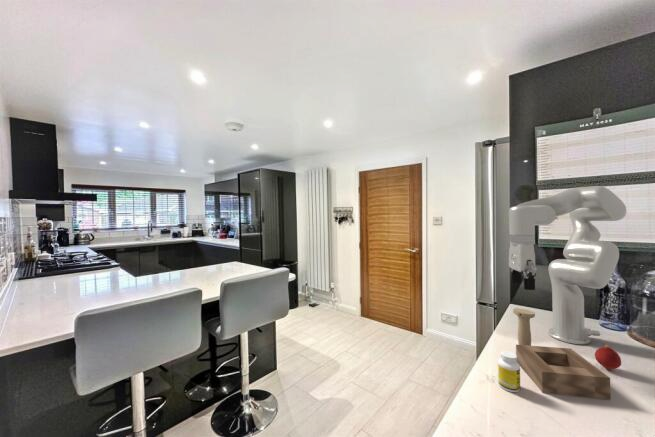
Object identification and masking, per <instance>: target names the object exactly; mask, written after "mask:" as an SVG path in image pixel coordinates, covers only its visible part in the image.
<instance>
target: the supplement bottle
mask: <svg viewBox="0 0 655 437" xmlns="http://www.w3.org/2000/svg"><path fill="white" fill-rule="evenodd" d="M497 368H498V370H497V376H498V377H497V379H498V380H497V381H498V386H499V387H500V388H502V389H503V390H505V391H507V392H511V393H519V392H520V391H521V367H520V365H519V364H518V363H517V356H516V353H514V352H512V351H508V350H503V351H500V358H499V359H498V360H497Z"/></svg>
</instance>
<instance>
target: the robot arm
mask: <svg viewBox="0 0 655 437" xmlns="http://www.w3.org/2000/svg"><path fill="white" fill-rule="evenodd" d="M567 214H569V218H570V221H571V225H572V233H571V235H570V237H569V238H568V240H567V242H566V244H565V246H564V248H563V252H562V255H563V256H564V258H557V259H554V260H552V261H551V262H550V263H549V265H548V267H547V268H548V275H549V278H550V283H551V295H552V299H551V301H552V304H551V305H552V306H551V307H552V328H549V329H548V330H547V332H548V335H549V336H550V337H551V338H554V339H555V340H558V341H561V342H564V343H568V344H573V345H588V344H591V338H590V336H595V337H597V336H598V337H599V336H601V333H600V331H599V330H593V329H592V330H591V328H586V327H585V297H584V293H583V291H582V290H581V288H580V287H585V288H590V289H597V290H598V289H599V290H600V289H603V288H605V287H606V286H607V284H608V283H609V282H610V279H611V277H612V275H613V274H614V273H613V272H615V268H616V267H617V264H618V262H619V259H620V250H619V248H618V245H616V244H615V243H614V242H611V241H605V240H600V238H601V232H600V230H599V229H598V227H596V226H595V225H594V224H593V223H592V222H617V221H620V220H622V219H624V218H625V217H626V215H627V207H626V204H625V203H624V201H623V200H622V199H620V198H619V197H618V196H617V195H616V194H615V193H614V192H613V191H612V190H611V189H610V188H607V187H604V186H602V185H593V186H592V185H591V186H580V187H579V186H578V187H571V188H568V189H566V190H563V191H560V192H558V193H556V194H553V195H549V196H546V197H545V196H544V197H542V198H538V199H532V200H528V201H525V202H522V203H520V204H517V205H515V206H511V207H509V211H508V221H509V222H508V223H509V224H508V226H509V228H508V231H509V233H508V234H509V252H508V267H509V268H510V273H511V274H510V275H511V276H510V277H511V283H513V284H521V283H522V272H523V289H524V290H525V291H528V290H529V291H535V290H536V279H537V278H536V276H537V270H538V268H537V266H536V253H535V247H534V245H536V230H535V226H548V225H551V224H552V223H554V222H555V220H556V218H557V217H561V216H565V215H567Z"/></svg>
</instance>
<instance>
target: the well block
mask: <svg viewBox="0 0 655 437" xmlns="http://www.w3.org/2000/svg"><path fill="white" fill-rule="evenodd" d="M515 354H516V356H517V363H518V364H519V365H520V369H521V370H523V372H524V373H525V374H526V375H527V376H528V377H529V379H530V380H531V381H532V382H533V383H534V384H535V386H537V388H538V389H539V390H540V391H541V393H543V394H545V393H546V394H554V395H562V396H571V397H573V396H574V397H582V398H591V399H600V400H601V399H602V400H609V401H611V394H612V393H611V377H609V375H607V374H605V373H604V372H603V371H601V370H600V369H599V368H598V367H596V366H595V365H594V364H592V363H591V362H590V361H589V360H587V359H586V358H584V357H583V356H582V355H580V354H579V353H578V352H576V351H575V350H573V349H572V348H570V347H569V348H567V347H556V346H555V347H554V346H542V345H541V346H540V345H531V346H528V345H519V344H515Z"/></svg>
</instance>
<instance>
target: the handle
mask: <svg viewBox="0 0 655 437" xmlns="http://www.w3.org/2000/svg"><path fill="white" fill-rule="evenodd" d="M512 311H513V314H514V315H516V316H517V318H518V322H517V323H518V325H517V342H518V345H528V346H532V331H531V319H533V318H535V317H536V312H534V311H532V310H530V309H525V308H520V307H515V308H513V309H512Z"/></svg>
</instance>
